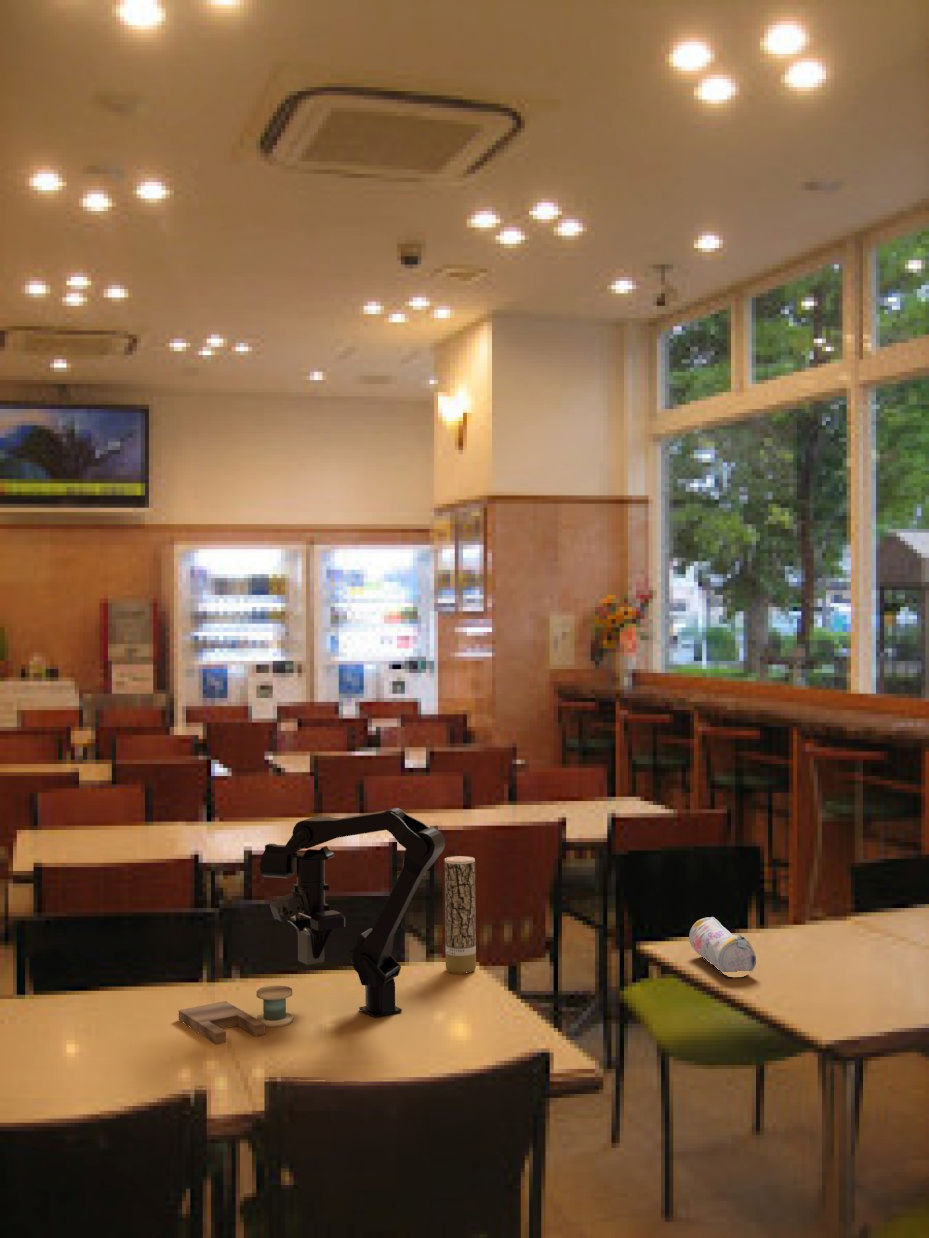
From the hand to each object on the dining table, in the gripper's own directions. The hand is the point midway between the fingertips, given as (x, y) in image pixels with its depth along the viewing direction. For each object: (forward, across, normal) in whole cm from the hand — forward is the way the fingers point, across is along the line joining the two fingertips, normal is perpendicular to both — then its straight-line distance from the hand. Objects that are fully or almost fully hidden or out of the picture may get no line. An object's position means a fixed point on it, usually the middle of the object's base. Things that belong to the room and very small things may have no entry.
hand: (311, 955), depth 261 cm
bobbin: (+10, +5, -11) cm, 16 cm away
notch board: (+10, +2, -21) cm, 23 cm away
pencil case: (+10, +30, +88) cm, 93 cm away
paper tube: (+10, -3, +39) cm, 41 cm away
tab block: (+1, 0, 0) cm, 1 cm away
